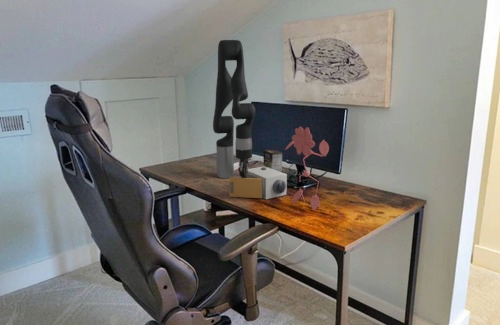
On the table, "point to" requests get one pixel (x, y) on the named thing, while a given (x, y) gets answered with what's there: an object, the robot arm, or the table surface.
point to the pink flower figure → (304, 145)
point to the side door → (246, 187)
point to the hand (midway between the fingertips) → (244, 184)
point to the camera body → (270, 181)
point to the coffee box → (273, 159)
